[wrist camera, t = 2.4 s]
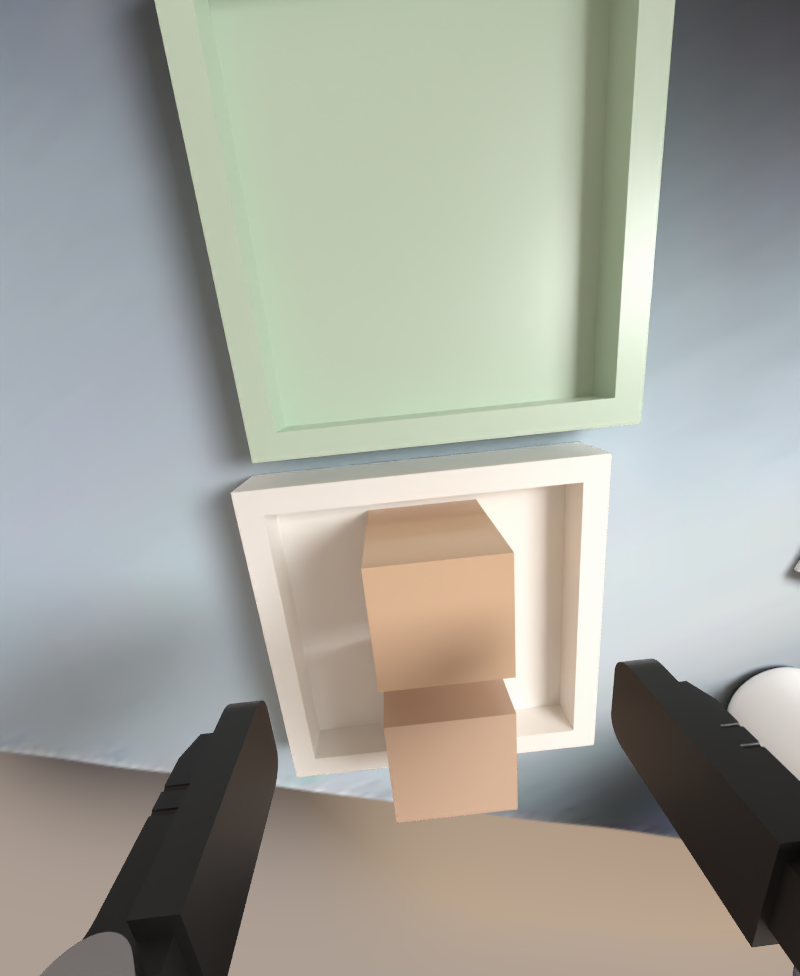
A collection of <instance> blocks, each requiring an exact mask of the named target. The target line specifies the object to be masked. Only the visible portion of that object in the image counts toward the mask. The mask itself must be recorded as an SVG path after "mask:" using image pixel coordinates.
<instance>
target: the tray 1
mask: <svg viewBox="0 0 800 976" xmlns="http://www.w3.org/2000/svg"><path fill="white" fill-rule="evenodd" d="M154 1H155V6H156V10H157V15H158V20H159V25H160V29H161V34H162V39H163V43H164V48H165V53H166V58H167V62H168V67H169V72H170V77H171V81H172V86H173V91H174V95H175V100H176V105H177V110H178V114H179V119H180V124H181V129H182V133H183V138H184V143H185V147H186V152H187V157H188V162H189V166H190V171H191V176H192V181H193V185H194V190H195V195H196V199H197V204H198V209H199V214H200V218H201V223H202V228H203V233H204V237H205V242H206V247H207V251H208V256H209V261H210V266H211V270H212V275H213V280H214V285H215V289H216V294H217V299H218V303H219V308H220V313H221V318H222V322H223V327H224V332H225V337H226V341H227V346H228V351H229V355H230V360H231V365H232V370H233V374H234V379H235V384H236V389H237V393H238V398H239V403H240V408H241V412H242V417H243V422H244V426H245V431H246V436H247V441H248V445H249V450H250V455H251V460H252V463H261V462H271V461H280V460H290V459H300V458H310V457H319V456H329V455H339V454H348V453H358V452H368V451H378V450H387V449H397V448H407V447H416V446H426V445H436V444H446V443H455V442H465V441H475V440H484V439H494V438H504V437H514V436H523V435H533V434H543V433H552V432H562V431H572V430H582V429H591V428H601V427H611V426H620V425H630V424H640V423H641V415H642V403H643V391H644V379H645V366H646V354H647V342H648V329H649V317H650V305H651V292H652V280H653V268H654V256H655V243H656V231H657V219H658V206H659V194H660V182H661V169H662V157H663V145H664V133H665V120H666V108H667V96H668V83H669V71H670V59H671V46H672V34H673V22H674V10H675V0H154Z"/></svg>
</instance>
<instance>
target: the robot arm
mask: <svg viewBox="0 0 800 976" xmlns="http://www.w3.org/2000/svg"><path fill="white" fill-rule="evenodd" d="M611 718H612V724H613V728H614V732H615V734H616V737H617V739H618V741H619V743H620V745H621V747H622V748H623V750H624V752H625V753H626V755H627V756H628V758H629V759H630V761H631V762H632V764H633V765H634V767H635V768H636V770H637V772H638V773H639V775H640V776H641V778H642V779H643V781H644V782H645V784H646V785H647V787H648V788H649V790H650V792H651V793H652V795H653V796H654V798H655V799H656V801H657V802H658V804H659V805H660V807H661V808H662V810H663V812H664V813H665V815H666V816H667V818H668V819H669V821H670V822H671V824H672V825H673V827H674V828H675V830H676V832H677V833H678V835H679V836H680V838H681V839H682V841H683V842H684V844H685V845H686V847H687V848H688V850H689V852H690V853H691V855H692V856H693V858H694V859H695V861H696V862H697V864H698V865H699V867H700V868H701V870H702V872H703V873H704V875H705V876H706V878H707V879H708V881H709V882H710V884H711V885H712V887H713V888H714V890H715V891H716V893H717V895H718V896H719V897H720V899H721V901H722V902H723V904H724V905H725V907H726V908H727V910H728V912H729V913H730V915H731V916H732V918H733V919H734V921H735V922H736V924H737V925H738V927H739V928H740V930H741V932H742V933H743V934H744V936H745V938H746V939H747V941H748V942H749V944H750V945H751V947H758V946H765V945H773V944H780V946H781V947H782V949H783V950H784V951H785V953H786V954H787V956H788V957H789V959H790V960H791V961H792V963H793V964H794V968H793V976H800V781H799V780H798V779H797V778H796V777H795V776H794V775H793V774H792V773H791V772H790V771H789V770H788V769H787V768H786V767H785V766H784V765H783V764H782V763H781V762H780V761H779V760H778V759H777V758H776V757H775V756H774V755H772V754H771V753H770V752H769V751H768V750H767V749H766V748H765V747H761V746H760V744H759V741H758V740H757V739H756V738H755V737H754V736H753V735H752V734H751V733H750V732H749V731H748V730H747V729H746V728H745V727H744V726H742V727H741V726H740V725H739V722H738V721H737V720H736V719H735V718H734V717H733V716H732V715H731V714H730V713H729V712H728V711H727V710H726V709H725V708H724V707H723V706H722V705H721V704H720V703H719V702H718V701H717V700H716V699H714V698H713V697H711V696H710V695H708V694H706V693H705V692H703V691H701V690H700V689H698V688H697V687H695V686H693V685H692V684H690V683H689V682H687V681H683V682H678V681H677V680H676V679H675V678H674V677H673V676H672V675H671V674H670V673H669V672H668V670H667V669H666V668H665V667H664V666H663V665H662V664H661V663H659V662H658V661H657V660H655V659H644V660H635V661H626V662H619V663H617V665H616V667H615V675H614V687H613V698H612V710H611ZM277 771H278V755H277V749H276V744H275V740H274V736H273V731H272V727H271V723H270V718H269V714H268V710H267V706H266V703H265V702H264V701H253V702H244V703H235V704H229V705H227V706H226V708H225V709H224V711H223V713H222V715H221V717H220V719H219V722H218V724H217V726H216V728H215V730H214V732H213V733H208V734H201V735H200V736H199V737H198V738H197V739H196V740H195V741H194V742H193V743H192V745H191V746H190V747H189V748H188V749H187V750H186V751H185V752H184V753H183V755H182V756H181V757H180V758H179V759H178V761H177V763H176V765H175V767H174V769H173V771H172V773H171V775H170V777H169V779H168V780H167V782H166V784H165V789H164V792H161V794H160V796H159V798H158V800H157V802H156V804H155V806H154V808H153V809H152V815H151V816H150V817H148V819H147V821H146V823H145V825H144V827H143V829H142V830H141V833H140V834H139V836H138V838H137V840H136V842H135V844H134V846H133V848H132V850H131V852H130V854H129V856H128V857H127V859H126V861H125V863H124V865H123V867H122V869H121V871H120V873H119V875H118V877H117V879H116V880H115V883H114V884H113V886H112V888H111V890H110V892H109V894H108V896H107V898H106V900H105V902H104V903H103V905H102V907H101V909H100V911H99V913H98V915H97V917H96V919H95V921H94V922H93V924H92V926H91V928H90V929H89V931H88V932H87V934H86V935H85V937H84V938H83V940H82V941H80V942H78V943H77V944H75V945H74V946H72V947H71V948H69V949H68V950H67V951H66V952H64V953H63V954H62V955H61V956H59V957H58V958H57V959H56V960H55V961H54V962H53V963H52V964H51V965H50V966H49V967H48V968H47V969H46V970H45V971H44V972H43V973H42V974H41V975H40V976H228V972H229V968H230V964H231V959H232V955H233V952H234V947H235V944H236V940H237V936H238V932H239V928H240V924H241V920H242V916H243V912H244V908H245V904H246V900H247V896H248V892H249V888H250V884H251V880H252V876H253V872H254V868H255V864H256V860H257V856H258V852H259V848H260V845H261V841H262V837H263V833H264V829H265V824H266V821H267V817H268V813H269V809H270V805H271V801H272V797H273V793H274V789H275V785H276V779H277Z"/></svg>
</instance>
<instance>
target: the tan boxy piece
mask: <svg viewBox="0 0 800 976" xmlns="http://www.w3.org/2000/svg"><path fill="white" fill-rule="evenodd" d="M361 571H362V578H363V586H364V593H365V600H366V607H367V614H368V621H369V628H370V636H371V643H372V650H373V657H374V664H375V671H376V678H377V686H378V692H387V691H396V690H405V689H414V688H424V687H433V686H442V685H451V684H460V683H470V682H479V681H488V680H497V679H506V678H516V656H515V582H514V552H513V550H512V549H511V548H510V546H509V545H508V543H507V542H506V541H505V539H504V538H503V536H502V535H501V534H500V532H499V531H498V529H497V528H496V527H495V525H494V524H493V522H492V521H491V520H490V518H489V517H488V515H487V514H486V513H485V511H484V510H483V508H482V507H481V506H480V504H479V503H478V501H477V500H476V499H472V500H463V501H453V502H443V503H434V504H424V505H415V506H405V507H395V508H386V509H376V510H368V515H367V523H366V532H365V540H364V549H363V557H362V566H361Z"/></svg>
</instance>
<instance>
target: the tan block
mask: <svg viewBox="0 0 800 976" xmlns="http://www.w3.org/2000/svg"><path fill="white" fill-rule="evenodd" d="M383 728H384V736H385V743H386V750H387V757H388V764H389V771H390V778H391V786H392V793H393V800H394V807H395V814H396V821H397V823H398V822H407V821H416V820H425V819H434V818H443V817H452V816H461V815H470V814H479V813H488V812H497V811H506V810H515V809H518V805H517V730H516V712H515V709H514V706H513V704H512V701H511V699H510V696H509V693H508V691H507V688H506V686H505V683H504V681H503V679H497V680H488V681H479V682H470V683H460V684H451V685H442V686H433V687H424V688H414V689H405V690H396V691H387V692H384V712H383Z"/></svg>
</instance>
